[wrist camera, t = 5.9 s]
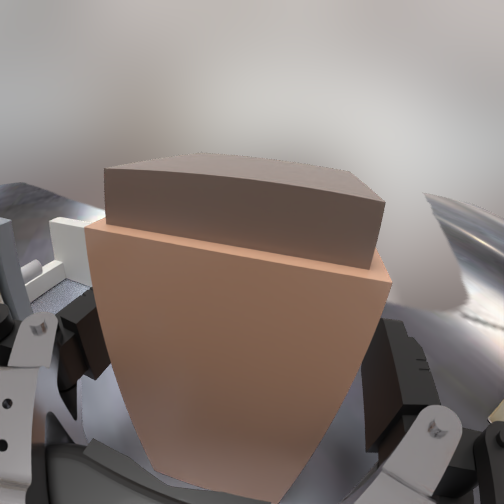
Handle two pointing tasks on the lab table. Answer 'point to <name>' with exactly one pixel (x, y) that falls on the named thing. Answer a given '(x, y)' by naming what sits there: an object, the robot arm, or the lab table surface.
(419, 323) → the lab table surface
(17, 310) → the pusher plate
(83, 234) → the lane
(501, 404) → the coffeecake box
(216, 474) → the terracotta canister
